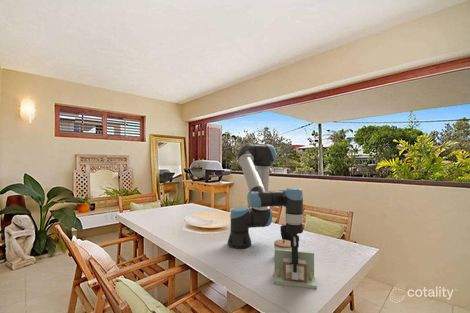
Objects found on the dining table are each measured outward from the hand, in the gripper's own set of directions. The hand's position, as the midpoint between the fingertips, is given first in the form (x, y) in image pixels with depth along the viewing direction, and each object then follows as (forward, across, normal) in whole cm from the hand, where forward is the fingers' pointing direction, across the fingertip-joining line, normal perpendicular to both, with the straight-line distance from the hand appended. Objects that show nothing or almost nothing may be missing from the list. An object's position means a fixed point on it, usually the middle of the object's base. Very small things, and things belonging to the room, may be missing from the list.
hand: (294, 276), depth 101 cm
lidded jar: (+2, +27, +5) cm, 27 cm away
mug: (+1, +52, +2) cm, 52 cm away
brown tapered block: (+2, 0, 0) cm, 2 cm away
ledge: (+3, +2, 0) cm, 4 cm away
